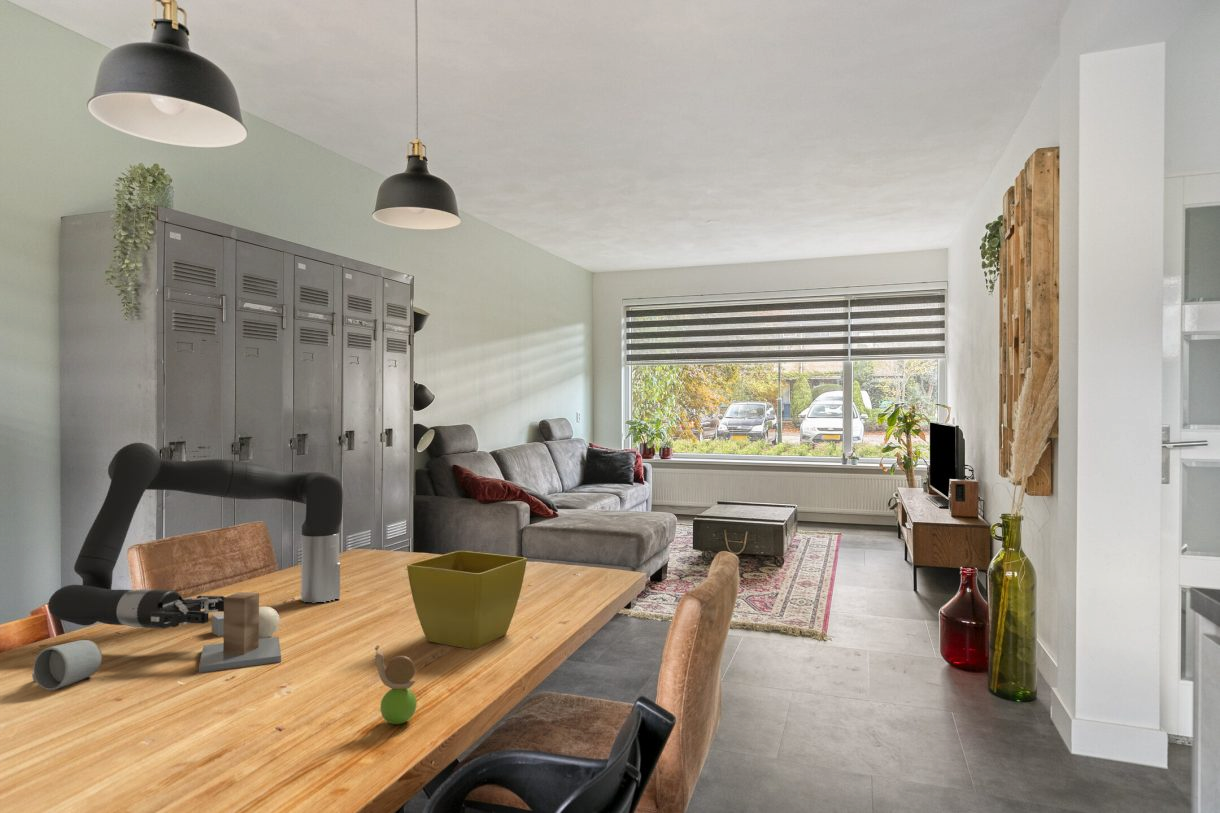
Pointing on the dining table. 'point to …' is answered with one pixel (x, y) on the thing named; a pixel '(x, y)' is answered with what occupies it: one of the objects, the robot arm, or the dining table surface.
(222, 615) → the grey block
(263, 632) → the steamed bun
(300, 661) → the dining table surface
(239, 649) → the walnut block
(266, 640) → the plate
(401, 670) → the snail figurine
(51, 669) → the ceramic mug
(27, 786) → the dining table surface
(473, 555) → the flower pot
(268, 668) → the dining table surface
